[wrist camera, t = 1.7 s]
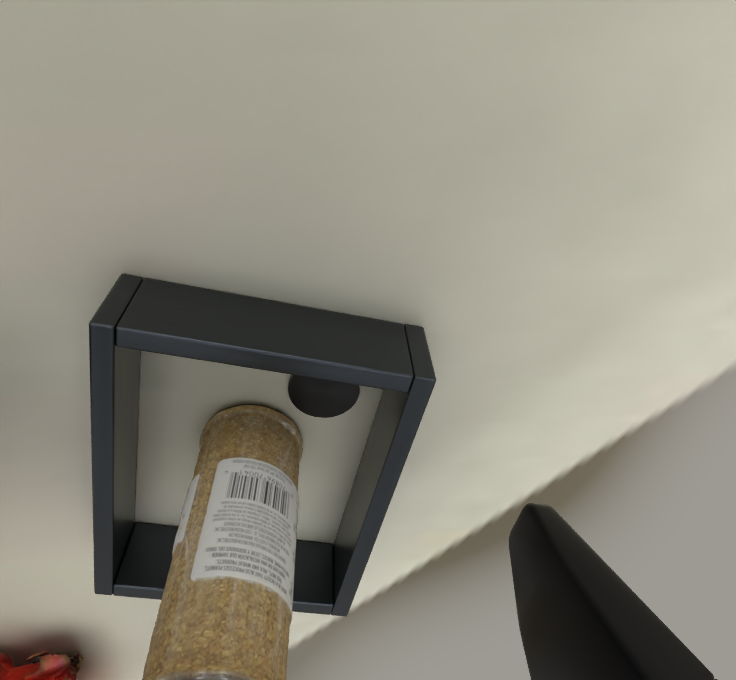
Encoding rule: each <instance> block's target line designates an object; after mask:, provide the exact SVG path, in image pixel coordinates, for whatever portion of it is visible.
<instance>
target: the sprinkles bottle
mask: <svg viewBox="0 0 736 680" xmlns="http://www.w3.org/2000/svg"><path fill="white" fill-rule="evenodd" d="M302 450H303V448H302V438H301V435H300V432H299V430H298V429H297V427H296V426H295V424H294V423H293V422H292V421H291V420H290V419H289V418H287V417H286V416H285V415H283V414H281V413H279V412H276V411H275V410H272V409H269V408H266V407H261V406H257V405H241V406H236V407H233V408H228V409H226V410H223V411H220V412H218V413H217V414H216V415H215V416H214V417H212V418H211V419H210V420H209V422H208V423H207V424H206V426H205V428H204V429H203V432H202V434H201V437H200V452H199V456H198V460H197V464H196V467H195V471H194V477H193V480H192V482H191V484H190V486H189V488H188V492H187V495H186V499H185V502H184V506H183V510H182V514H181V518H180V522H179V526H178V530H177V533H176V537H175V542H174V546H173V551H172V562H171V565H170V570H169V573H168V576H167V581H166V584H165V588H164V591H163V596H162V602H161V604H160V608H159V612H158V615H157V620H156V623H155V627H154V630H153V634H152V637H151V642H150V648H149V652H148V656H147V660H146V663H145V667H144V675H143V679H142V680H286V669H287V656H288V643H289V627H290V623H291V619H292V607H293V589H294V570H295V553H296V535H297V519H298V502H299V501H298V473H299V462H300V458H301V455H302Z"/></svg>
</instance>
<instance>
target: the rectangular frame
mask: <svg viewBox="0 0 736 680" xmlns="http://www.w3.org/2000/svg"><path fill="white" fill-rule="evenodd" d="M89 346H90V395H91V443H92V491H93V540H94V588H95V593H96V594H104V595H112V594H113V595H115V596H126V597H137V598H149V599H160V600H162V596H163V591H164V588H165V584H166V581H167V576H168V573H169V570H170V565H171V562H172V551H173V546H174V542H175V537H176V533H177V530H178V527H173V526H164V525H155V524H146V523H135V524H134V521H135V493H136V466H137V438H138V410H139V383H140V355H141V350H142V351H148V352H154V353H161V354H167V355H173V356H179V357H186V358H192V359H198V360H205V361H211V362H217V363H223V364H230V365H236V366H242V367H249V368H255V369H261V370H267V371H274V372H280V373H286V374H292V376H291V378H290V381H289V387H288V392H289V396H290V399H291V401H292V403H293V404H294V405H295V406H296V407H297V408H298V409H299V410H300V411H302V412H304V413H306V414H308V415H311V416H314V417H321V418H327V417H334V416H337V415H340V414H342V413H344V412H346V411H348V410H349V409H350V408H351V407H352V406H353V405H354V404H355V403H356V401H357V399H358V396H359V391H360V387H359V385H362V386H368V387H374V388H380V389H384V390H383V394H382V397H381V400H380V403H379V406H378V409H377V412H376V415H375V418H374V422H373V425H372V428H371V431H370V434H369V437H368V440H367V443H366V446H365V450H364V453H363V456H362V459H361V462H360V465H359V468H358V471H357V474H356V478H355V481H354V484H353V487H352V490H351V493H350V496H349V499H348V502H347V506H346V509H345V512H344V515H343V518H342V521H341V524H340V527H339V530H338V534H337V537H336V540H335V543H334V546H333V544H327V543H318V542H309V541H299V540H296V553H295V570H294V589H293V607H292V611H294V612H305V613H316V614H328V615H330V614H331V615H336V616H347V615H348V612H349V609H350V607H351V604H352V601H353V599H354V596H355V593H356V591H357V588H358V586H359V583H360V580H361V578H362V575H363V572H364V570H365V567H366V564H367V562H368V559H369V556H370V554H371V551H372V549H373V546H374V543H375V541H376V538H377V535H378V533H379V530H380V527H381V525H382V522H383V519H384V517H385V514H386V512H387V509H388V506H389V504H390V501H391V498H392V496H393V493H394V490H395V488H396V485H397V482H398V480H399V477H400V475H401V472H402V469H403V467H404V464H405V461H406V459H407V456H408V453H409V451H410V448H411V445H412V443H413V440H414V438H415V435H416V432H417V430H418V427H419V424H420V422H421V419H422V416H423V414H424V411H425V408H426V406H427V403H428V401H429V398H430V395H431V393H432V390H433V387H434V385H435V382H436V377H435V373H434V369H433V365H432V361H431V357H430V353H429V349H428V345H427V341H426V336H425V332H424V328H423V327H418V326H412V325H407V324H405V325H403V324H399V323H393V322H388V321H382V320H377V319H371V318H366V317H360V316H355V315H349V314H344V313H338V312H332V311H327V310H321V309H316V308H310V307H305V306H299V305H294V304H288V303H282V302H277V301H271V300H266V299H260V298H255V297H249V296H244V295H238V294H232V293H227V292H221V291H216V290H210V289H205V288H199V287H194V286H188V285H182V284H177V283H171V282H166V281H160V280H155V279H149V278H144V280H143V278H142V277H138V276H133V275H127V274H121V276H120V277H119V279H118V280H117V282H116V283H115V285H114V286H113V288H112V289H111V291H110V292H109V294H108V295H107V297H106V298H105V300H104V301H103V303H102V304H101V306H100V307H99V309H98V310H97V312H96V313H95V315H94V317H93V318H92V320H91V321H90V323H89Z"/></svg>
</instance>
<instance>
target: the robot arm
mask: <svg viewBox="0 0 736 680" xmlns="http://www.w3.org/2000/svg"><path fill="white" fill-rule="evenodd" d="M509 550H510V558H511V566H512V574H513V582H514V590H515V598H516V606H517V614H518V620H519V627H520V632H521V637H522V642H523V646H524V650H525V655H526V659H527V664H528V668H529V672H530V676H531V680H717V679H714V676H713V674H712V673H711V672H710V671H709V670H708V669H707V668H706V667H705V666H704V665H703V664H702V663H701V662H700V661H699V660H698V659H697V658H696V656H695V655H694V654H693V653H691V651H690V650H689V649H688V648H687V647H686V646H685V645H684V644H683V643H682V642H681V641H680V640H679V639H678V638H677V637H676V636H675V635H674V634H673V633H672V632H671V630H670V629H669V628H668V627H667V626H666V625H665V624H664V623H663V622H662V621H661V620H660V619H659V618H658V617H657V616H656V615H655V614H654V613H653V612H652V611H651V610H650V609H649V608H648V607H647V606H646V605H645V603H643V601H642V600H641V599H640V598H639V597H638V596H637V595H636V594H635V593H634V592H633V591H632V590H631V589H630V588H629V587H628V586H627V585H626V584H625V583H624V582H623V581H622V580H621V578H619V576H617V574H616V573H615V572H614V571H613V570H612V569H611V568H610V567H609V566H608V565H607V564H606V563H605V562H604V561H603V560H602V559H601V558H600V557H599V556H598V555H597V554H596V553H595V551H593V549H592V548H591V547H590V546H589V545H588V544H587V543H586V542H585V541H584V540H583V539H582V538H581V537H580V536H579V535H578V534H577V533H576V532H575V531H574V530H573V529H572V528H571V527H570V525H569V524H568V523H567V522H566V521H565V520H564V519H563V518H562V517H561V516H560V515H559V514H558V513H557V512H556V511H555V510H554V509H553V508H552V507H550V506H548V505H543V504H534V503H528V504H527V505H525V506H524V508H523V509H522V511H521V513H520V515H519V517H518V519H517V521H516V523H515V524H514V526H513V528H512V530H511V532H510V536H509Z"/></svg>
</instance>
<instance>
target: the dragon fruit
mask: <svg viewBox="0 0 736 680" xmlns="http://www.w3.org/2000/svg"><path fill="white" fill-rule="evenodd" d="M58 653H59V652H58ZM51 654H52V653H51ZM51 654H50V653H49V652H48V651H41V652H39V653H34V654H33V655H31V656H30V657H29V658H27V659H25V660H29V659H31V658H34V657H37V656H39V657H38V659H35V658H34V659H35V660H34V661H33V663H34V664H27V665H23V666H19V667H16V668H15V667H14V665H13V662H12V659H11V657H10V656H9V654H8V653H7V652H6V651H0V680H76V673H77V672H78V671H79V669H80V664H81V662H82V660H83V657H82V656H81V655H80V653H79V652H78V654H76V655H75V656H74V657H70V658H68V656H67V655H66V654H60V655H56V653H55V655H51ZM36 662H38V663H36Z"/></svg>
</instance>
